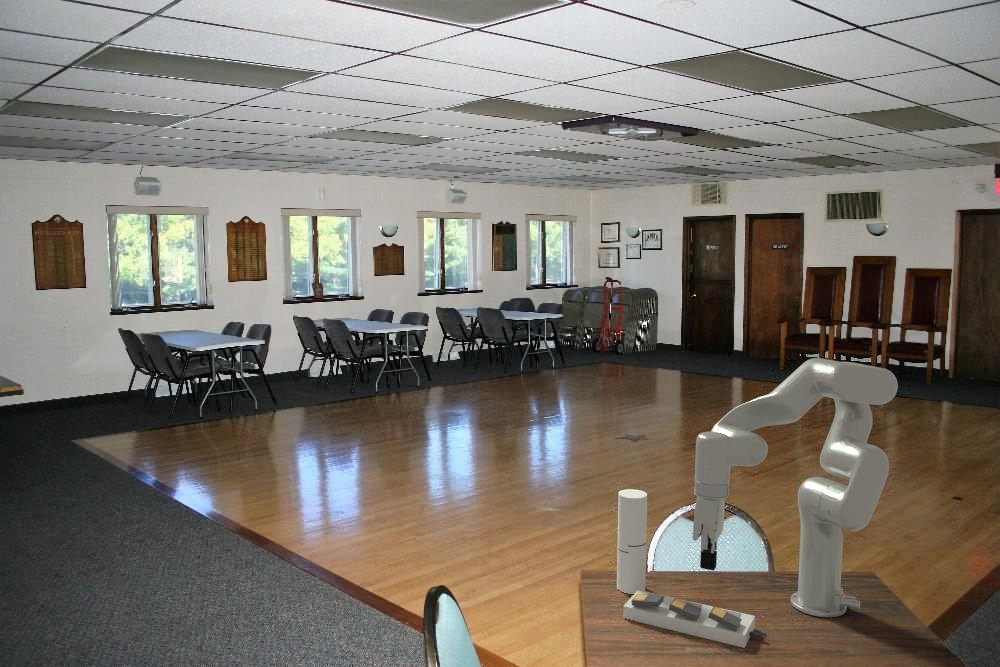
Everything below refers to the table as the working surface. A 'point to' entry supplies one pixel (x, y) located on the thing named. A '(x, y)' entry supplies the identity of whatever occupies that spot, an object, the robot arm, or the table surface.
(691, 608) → the middle rocker
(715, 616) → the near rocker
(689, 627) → the power strip
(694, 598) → the table surface
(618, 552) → the cylindrical container
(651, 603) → the far rocker
